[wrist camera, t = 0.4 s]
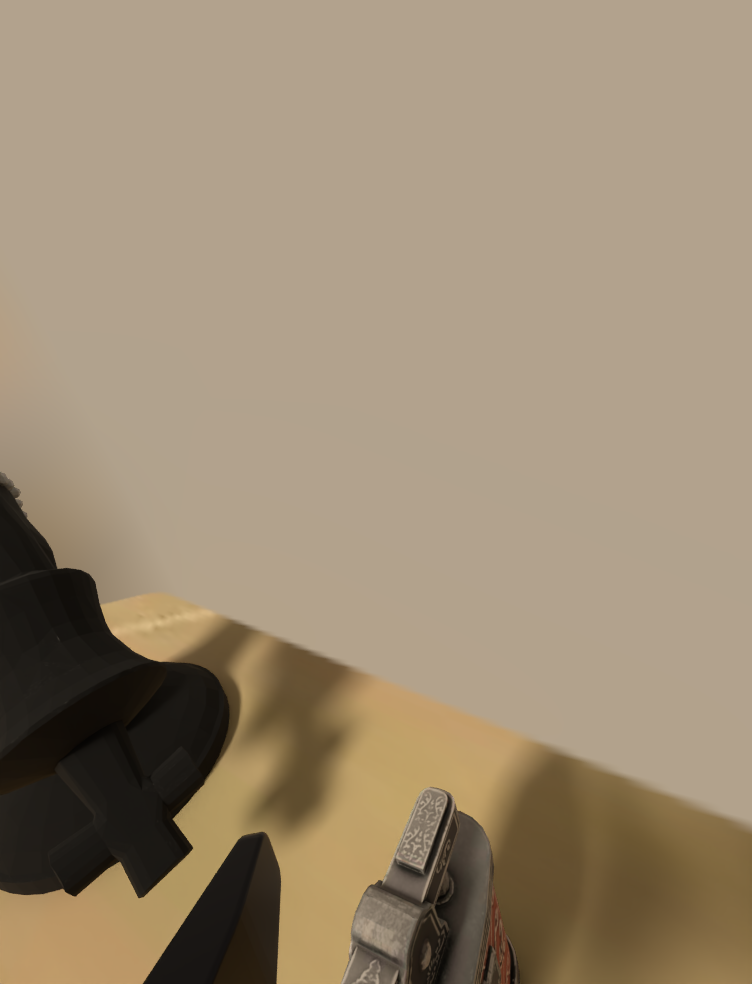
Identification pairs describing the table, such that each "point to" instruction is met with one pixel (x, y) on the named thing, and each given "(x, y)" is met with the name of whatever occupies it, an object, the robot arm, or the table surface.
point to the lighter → (433, 907)
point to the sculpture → (89, 730)
